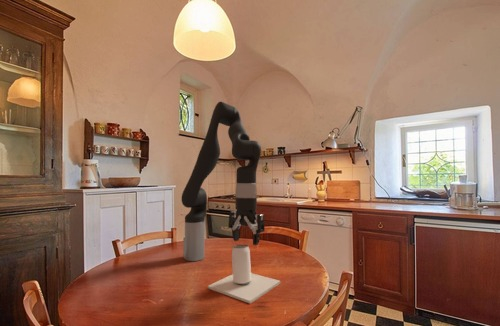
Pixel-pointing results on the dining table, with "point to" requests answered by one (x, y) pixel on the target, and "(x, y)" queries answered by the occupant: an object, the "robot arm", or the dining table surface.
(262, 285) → the tile mat
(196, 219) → the robot arm
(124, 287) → the dining table surface
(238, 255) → the can
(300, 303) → the dining table surface
